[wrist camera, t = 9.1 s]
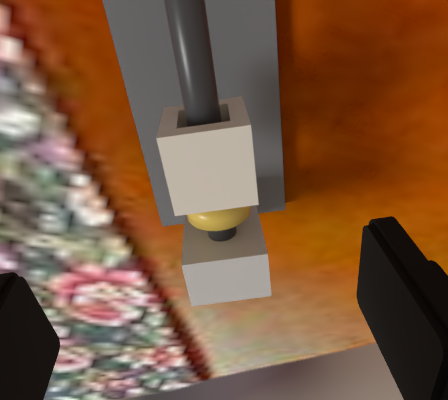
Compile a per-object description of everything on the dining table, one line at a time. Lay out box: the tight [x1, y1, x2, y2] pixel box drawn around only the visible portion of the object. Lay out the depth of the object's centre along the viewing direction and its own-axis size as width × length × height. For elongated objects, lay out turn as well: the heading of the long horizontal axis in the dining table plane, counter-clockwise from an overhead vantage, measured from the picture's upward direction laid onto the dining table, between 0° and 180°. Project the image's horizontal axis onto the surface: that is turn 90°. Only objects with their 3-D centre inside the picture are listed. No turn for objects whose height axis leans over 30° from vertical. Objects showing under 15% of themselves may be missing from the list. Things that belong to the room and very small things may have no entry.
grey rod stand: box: [103, 0, 285, 306], centre depth 18 cm, size 24×9×9 cm, turn 7°
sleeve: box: [156, 96, 259, 216], centre depth 19 cm, size 4×4×4 cm
